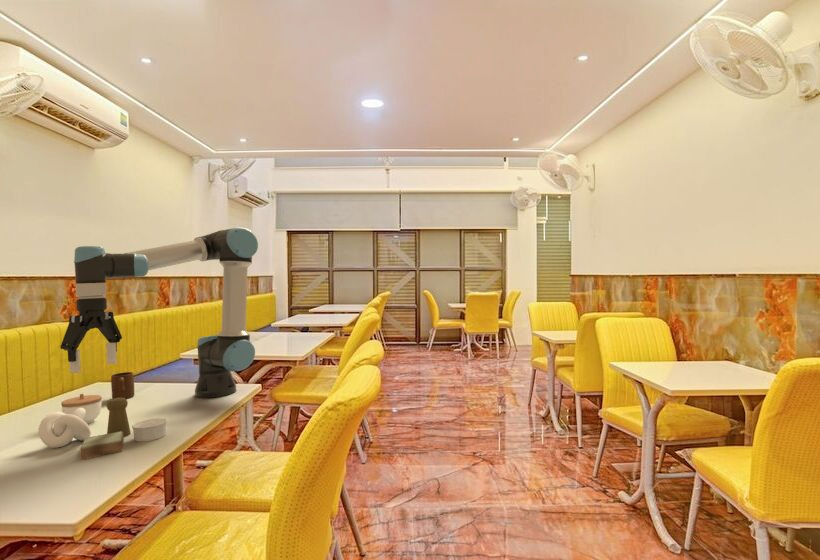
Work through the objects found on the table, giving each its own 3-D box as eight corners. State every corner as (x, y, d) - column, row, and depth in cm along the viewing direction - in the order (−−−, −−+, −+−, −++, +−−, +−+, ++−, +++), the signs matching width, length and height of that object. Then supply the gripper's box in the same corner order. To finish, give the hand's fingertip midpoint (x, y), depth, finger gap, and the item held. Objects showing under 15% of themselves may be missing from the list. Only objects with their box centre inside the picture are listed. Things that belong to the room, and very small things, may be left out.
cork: (104, 436, 135) (102, 399, 135) (127, 430, 139) (125, 394, 139) (109, 440, 131) (107, 402, 131) (133, 434, 135) (131, 397, 135)
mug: (133, 400, 175) (132, 376, 175) (110, 404, 172) (108, 379, 171) (135, 394, 186) (134, 371, 186) (113, 397, 182) (111, 373, 182)
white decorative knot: (105, 436, 135) (103, 406, 135) (67, 451, 123) (65, 418, 123) (73, 434, 137) (72, 405, 137) (33, 450, 126) (31, 417, 126)
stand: (123, 441, 130) (123, 430, 130) (122, 451, 122) (121, 440, 122) (85, 448, 125) (84, 437, 125) (80, 459, 117) (80, 447, 117)
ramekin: (135, 435, 135) (134, 420, 135) (169, 430, 138) (168, 416, 138) (130, 445, 127) (129, 429, 127) (166, 439, 130) (165, 424, 130)
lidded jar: (81, 428, 143) (80, 398, 143) (53, 427, 145) (52, 398, 145) (110, 417, 154) (109, 390, 153) (84, 417, 156) (82, 389, 156)
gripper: (112, 296, 150) (114, 360, 151) (42, 300, 126) (45, 377, 126) (132, 295, 149) (135, 359, 150) (66, 299, 125) (70, 376, 125)
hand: (94, 367), depth 138 cm, fingers open, 13 cm apart
